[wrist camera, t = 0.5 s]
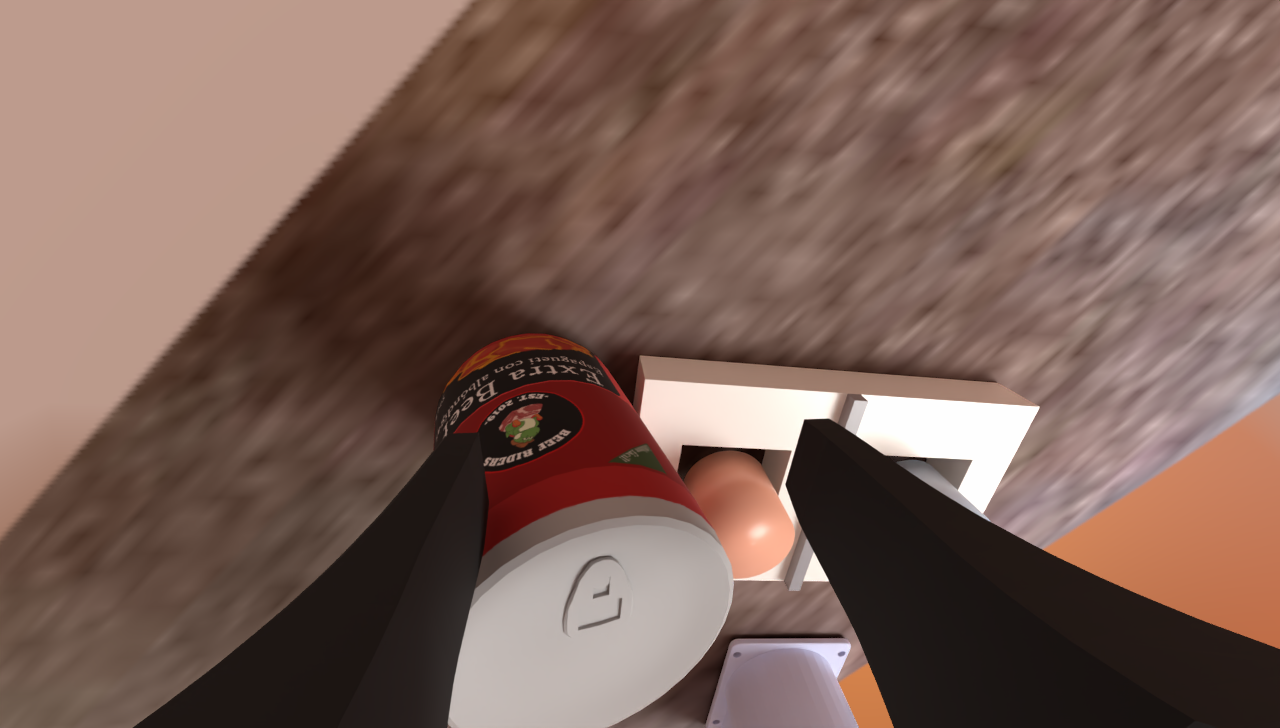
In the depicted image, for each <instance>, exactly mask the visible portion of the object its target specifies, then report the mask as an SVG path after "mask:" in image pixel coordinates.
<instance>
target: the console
mask: <svg viewBox="0 0 1280 728" xmlns="http://www.w3.org/2000/svg"><path fill="white" fill-rule="evenodd" d="M633 408H634V409H635V411H636V412H637V414H638V415H639V417H640V418H641V420H642V421H643V423H644V424H645V426H646V427H647V428H648V430H649V431H650V433H651V434H652V436H653V437H654V439H655V440H656V442H657V443H658V445H659V446H660V448H661V449H662V451H663V452H664V454H665V455H666V457H667V458H668V460H669V461H670V463H671V464H672V466H673V467H674V469H675V470H676V472H677V470H678V465H679V459H680V454H681V449H682V445H695V446H714V447H733V448H753V449H766V450H765V454H764V458H763V461H762V467H763V469H764V471H765V472H766V474H767V476H768V478H769V480H770V482H771V484H772V486H773V487H774V489H775V491H776V493H777V495H778V497H779V499H780V501H781V503H782V504H783V506H784V508H785V510H786V512H787V514H788V516H789V518H790V519H791V521H792V523H793V526H794V531H795V538H794V543H793V545H792V548H791V550H790V551H789V553H788V555H787V556H786V557H785V558H784V559H783V560H782V561H781V562H780V563H779V564H778V565H777V566H775V567H774V568H772V569H771V570H769V571H767V572H765V573H762V574H760V575H757V576H754V577H749V578H742V579H733V580H765V581H784V582H785V584H786V586H787V588H788V591H800V588H801V586H802V583H803V581H829V580H828V578H827V576H826V574H825V572H824V570H823V569H822V567H821V565H820V563H819V561H818V559H817V557H816V555H815V553H814V551H813V549H812V548H811V546H810V544H809V542H808V540H807V538H806V536H805V534H804V532H803V530H802V528H801V526H800V524H799V521H798V519H797V516H796V513H795V511H794V508H793V505H792V503H791V500H790V497H789V494H788V491H787V488H786V485H785V483H786V480H787V477H788V473H789V470H790V466H791V463H792V459H793V456H794V452H795V449H796V446H797V442H798V439H799V435H800V432H801V428H802V425H803V422H804V419H826V418H829V419H831V420H832V421H834V422H836V423H838V424H839V425H841V426H842V427H844V428H845V429H847V430H848V431H850V432H851V433H853V434H854V435H856V436H857V437H859V438H860V439H862V440H863V441H865V442H866V443H868V444H869V445H871V446H872V447H874V448H875V449H877V450H878V451H879V452H881V453H882V454H884V455H889V456H908V457H927V460H926V463H928V464H930V465H931V466H932V467H934V468H935V469H936V470H937V471H938V472H939V473H940V474H941V475H942V476H943V477H944V478H945V479H946V480H947V481H948V482H950V483H951V484H952V485H953V486H954V487H955V488H956V489H957V490H958V491H959V492H960V493H961V494H962V495H963V496H964V497H965V498H967V499H968V500H969V501H970V502H971V503H972V504H973V505H974V506H975V507H976V508H977V509H978V510H979V511H980V512H981V513H984V511H985V509H986V507H987V505H988V503H989V501H990V499H991V498H992V496H993V494H994V492H995V490H996V488H997V486H998V484H999V483H1000V481H1001V479H1002V477H1003V475H1004V473H1005V471H1006V469H1007V468H1008V466H1009V464H1010V462H1011V460H1012V458H1013V456H1014V454H1015V453H1016V451H1017V449H1018V447H1019V445H1020V443H1021V441H1022V439H1023V438H1024V436H1025V434H1026V432H1027V430H1028V428H1029V426H1030V424H1031V423H1032V421H1033V419H1034V417H1035V415H1036V413H1037V411H1038V409H1039V408H1040V407H1039V406H1037V405H1036V404H1034V403H1032V402H1030V401H1029V400H1027V399H1025V398H1024V397H1022V396H1020V395H1018V394H1017V393H1015V392H1013V391H1011V390H1010V389H1008V388H1006V387H1005V386H1003V385H1001V384H999V383H994V382H981V381H967V380H954V379H941V378H928V377H915V376H902V375H889V374H876V373H863V372H850V371H837V370H824V369H811V368H798V367H785V366H772V365H759V364H745V363H732V362H719V361H706V360H693V359H680V358H667V357H654V356H641V355H640V357H639V365H638V372H637V380H636V387H635V395H634V402H633Z"/></svg>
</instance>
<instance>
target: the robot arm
mask: <svg viewBox="0 0 1280 728" xmlns="http://www.w3.org/2000/svg"><path fill="white" fill-rule="evenodd" d="M785 485H786V488H787V491H788V494H789V497H790V500H791V503H792V505H793V508H794V511H795V513H796V516H797V519H798V521H799V524H800V526H801V528H802V530H803V532H804V534H805V536H806V538H807V540H808V542H809V544H810V546H811V548H812V549H813V551H814V553H815V555H816V557H817V559H818V561H819V563H820V565H821V567H822V569H823V570H824V572H825V574H826V576H827V578H828V580H829V582H830V584H831V586H832V587H833V589H834V591H835V593H836V595H837V597H838V599H839V601H840V603H841V605H842V606H843V608H844V610H845V612H846V614H847V616H848V618H849V620H850V622H851V624H852V626H853V628H854V630H855V632H856V635H857V637H858V639H859V641H860V644H861V646H862V648H863V651H864V653H865V656H866V658H867V660H868V663H869V665H870V668H871V670H872V673H873V675H874V677H875V680H876V682H877V685H878V687H879V690H880V692H881V695H882V698H883V700H884V703H885V705H886V708H887V710H888V713H889V716H890V718H891V720H892V724H893V726H894V728H1280V649H1278V648H1275V647H1272V646H1270V645H1267V644H1264V643H1262V642H1259V641H1256V640H1253V639H1251V638H1248V637H1245V636H1242V635H1240V634H1237V633H1234V632H1232V631H1229V630H1226V629H1224V628H1221V627H1218V626H1215V625H1213V624H1210V623H1207V622H1205V621H1202V620H1199V619H1197V618H1194V617H1192V616H1190V615H1187V614H1185V613H1182V612H1180V611H1177V610H1175V609H1172V608H1170V607H1167V606H1165V605H1163V604H1160V603H1158V602H1156V601H1153V600H1151V599H1148V598H1146V597H1143V596H1141V595H1139V594H1136V593H1134V592H1132V591H1129V590H1127V589H1125V588H1123V587H1120V586H1118V585H1116V584H1114V583H1111V582H1109V581H1107V580H1105V579H1102V578H1100V577H1098V576H1096V575H1094V574H1092V573H1090V572H1087V571H1085V570H1083V569H1081V568H1079V567H1077V566H1075V565H1073V564H1070V563H1068V562H1066V561H1064V560H1062V559H1060V558H1057V557H1056V556H1054V555H1052V554H1050V553H1048V552H1046V551H1044V550H1042V549H1040V548H1038V547H1036V546H1034V545H1032V544H1030V543H1028V542H1026V541H1025V540H1023V539H1021V538H1019V537H1017V536H1015V535H1013V534H1012V533H1010V532H1008V531H1006V530H1004V529H1002V528H1001V527H999V526H997V525H995V524H993V523H991V522H990V521H988V520H986V519H984V518H983V517H981V516H979V515H977V514H976V513H974V512H972V511H971V510H969V509H967V508H966V507H964V506H962V505H961V504H959V503H958V502H956V501H954V500H953V499H951V498H949V497H948V496H946V495H944V494H943V493H941V492H940V491H938V490H937V489H935V488H933V487H932V486H930V485H929V484H927V483H926V482H924V481H923V480H921V479H919V478H918V477H916V476H915V475H913V474H912V473H910V472H909V471H907V470H906V469H904V468H903V467H901V466H900V465H898V464H897V463H896V462H894V461H893V460H891V459H890V458H888V457H887V456H885V455H884V454H882V453H881V452H879V451H878V450H877V449H875V448H874V447H872V446H871V445H869V444H868V443H866V442H865V441H863V440H862V439H860V438H859V437H857V436H856V435H854V434H853V433H851V432H850V431H848V430H847V429H845V428H844V427H842V426H841V425H839V424H838V423H836V422H834V421H832V420H831V419H829V418H826V419H804V422H803V425H802V428H801V432H800V435H799V439H798V442H797V446H796V449H795V452H794V456H793V459H792V463H791V466H790V470H789V473H788V477H787V480H786V483H785ZM488 510H489V497H488V490H487V484H486V477H485V470H484V464H483V457H482V450H481V444H480V437H479V432H475V433H450V434H447V435H446V436H445V437H444V438H443V439H442V441H441V442H440V443H439V444H438V446H437V447H436V448H435V450H434V451H433V452H432V453H431V455H430V456H429V457H428V458H427V460H426V461H425V462H424V463H423V465H422V466H421V467H420V468H419V470H418V471H417V472H416V473H415V474H414V476H413V477H412V478H411V479H410V481H409V482H408V483H407V484H406V485H405V486H404V488H403V489H402V490H401V491H400V492H399V493H398V495H397V496H396V497H395V498H394V499H393V500H392V501H391V503H390V504H389V505H388V506H387V507H386V508H385V510H384V511H383V512H382V513H381V514H380V515H379V516H378V517H377V518H376V520H375V521H374V522H373V523H372V524H371V525H370V526H369V527H368V528H367V529H366V530H365V531H364V532H363V533H362V534H361V535H360V536H359V537H358V538H357V539H356V541H355V542H354V543H353V544H352V545H351V546H350V547H349V548H348V549H347V550H346V551H345V552H344V553H343V554H342V555H341V556H340V557H339V558H338V559H337V560H336V561H335V562H334V563H333V564H332V565H331V566H330V567H329V568H328V569H327V570H326V571H325V572H324V573H323V574H322V575H320V576H319V577H318V578H317V579H316V580H315V581H314V582H313V583H312V584H311V585H310V586H309V587H308V588H306V589H305V590H304V591H303V592H302V593H301V594H300V595H299V596H298V597H297V598H296V599H294V600H293V601H292V602H291V603H290V604H289V605H288V606H287V607H286V608H284V609H283V610H282V611H281V612H280V613H278V614H277V615H276V616H275V617H274V618H273V619H271V620H270V621H269V622H268V623H267V624H266V625H264V626H263V627H262V628H261V629H260V630H258V631H257V632H256V633H255V634H254V635H252V636H251V637H250V638H249V639H248V640H246V641H245V642H244V643H243V644H241V645H240V646H239V647H238V648H237V649H235V650H234V651H233V652H232V653H231V654H229V655H228V656H227V657H226V658H224V659H223V660H222V661H221V662H220V663H218V664H217V665H216V666H215V667H213V668H212V669H211V670H209V671H208V672H207V673H206V674H204V675H203V676H202V677H200V678H199V679H198V680H196V681H195V682H194V683H192V684H191V685H190V686H188V687H187V688H186V689H184V690H183V691H182V692H180V693H179V694H178V695H176V696H175V697H174V698H173V699H171V700H170V701H169V702H167V703H166V704H165V705H163V706H162V707H161V708H159V709H158V710H156V711H155V712H154V713H152V714H151V715H150V716H148V717H147V718H145V719H144V720H143V721H141V722H140V723H139V724H137V725H136V726H134V727H133V728H447V725H448V718H449V711H450V704H451V697H452V690H453V684H454V678H455V673H456V668H457V663H458V658H459V654H460V649H461V645H462V641H463V637H464V632H465V628H466V624H467V620H468V615H469V611H470V607H471V603H472V599H473V594H474V590H475V586H476V581H477V577H478V573H479V568H480V564H481V560H482V555H483V551H484V545H485V537H486V529H487V519H488ZM850 648H851V645H850V643H849V641H848V640H847V639H845V638H773V639H735V640H733V641H731V643H730V644H729V648H728V651H727V655H726V658H725V661H724V665H723V668H722V671H721V675H720V678H719V681H718V685H717V688H716V691H715V695H714V698H713V702H712V705H711V708H710V712H709V715H708V718H707V722H706V725H705V727H706V728H859V727H858V725H857V723H856V720H855V718H854V716H853V714H852V712H851V709H850V707H849V705H848V703H847V701H846V699H845V697H844V694H843V692H842V690H841V688H840V685H839V683H838V681H837V677H838V675H839V673H840V670H841V668H842V666H843V664H844V662H845V659H846V657H847V655H848V653H849V651H850Z"/></svg>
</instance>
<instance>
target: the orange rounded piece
mask: <svg viewBox="0 0 1280 728" xmlns="http://www.w3.org/2000/svg"><path fill="white" fill-rule="evenodd" d="M683 482H684V484H685V485H686V486H687V488H688V489H689V491H690V492H691V494H692V495H693V497H694V498H695V500H696V501H697V503H698V505H699V507H700V509H701V510H702V512H703V513H704V515H705V516H706V518H707V519H708V521H709V522H710V524H711V525H712V527H713V528H714V530H715V532H716V534H717V536H718V538H719V540H720V542H721V545H722V547H723V548H724V550H725V552H726V555H727V557H728V559H729V561H730V563H731V566H732V573H733V579H742V578H749V577H754V576H757V575H760V574H762V573H765V572H767V571H769V570H771V569H772V568H774V567H775V566H777V565H778V564H779V563H780V562H781V561H782V560H783V559H784V558H785V557H786V556H787V555H788V553H789V551H790V550H791V548H792V545H793V543H794V538H795V531H794V526H793V523H792V521H791V519H790V518H789V516H788V514H787V512H786V510H785V508H784V506H783V504H782V503H781V501H780V499H779V497H778V495H777V493H776V491H775V489H774V487H773V486H772V484H771V482H770V480H769V478H768V476H767V474H766V472H765V471H764V469H763V467H762V465H761V464H760V463H759V462H758V461H757V460H756V459H755V458H754V457H752V456H751V455H749V454H746V453H744V452H739V451H720V452H716V453H713V454H710V455H708V456H706V457H704V458H702V459H701V460H699V461H698V462H697V463H695V464H694V465H693V466H692V467H691V468H690V470H689V471H688V472H687V474H686V476H685V478H684V480H683Z"/></svg>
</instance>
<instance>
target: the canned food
mask: <svg viewBox="0 0 1280 728" xmlns="http://www.w3.org/2000/svg"><path fill="white" fill-rule="evenodd" d="M475 432H479V437H480V444H481V450H482V457H483V464H484V470H485V477H486V484H487V490H488V497H489V510H488V519H487V529H486V537H485V545H484V551H483V555H482V560H481V564H480V568H479V573H478V577H477V581H476V586H475V590H474V594H473V599H472V603H471V607H470V611H469V615H468V620H467V624H466V628H465V632H464V637H463V641H462V645H461V649H460V654H459V658H458V663H457V668H456V673H455V678H454V684H453V690H452V697H451V704H450V711H449V718H448V724H449V726H450V727H451V728H607V727H609V726H611V725H614V724H616V723H618V722H620V721H622V720H624V719H626V718H627V717H629V716H631V715H633V714H635V713H637V712H638V711H640V710H642V709H643V708H645V707H646V706H648V705H649V704H651V703H652V702H654V701H655V700H656V699H658V698H659V697H661V696H662V695H664V694H665V693H666V692H667V691H668V690H670V689H671V688H672V687H673V686H674V685H675V684H677V683H678V682H679V681H680V680H681V679H683V678H684V677H685V676H686V675H687V674H688V672H689V671H690V670H691V669H692V668H693V667H694V666H695V665H696V664H697V663H698V662H699V661H700V660H701V659H702V657H703V656H704V655H705V653H706V652H707V650H708V649H709V648H710V646H711V645H712V644H713V642H714V641H715V639H716V637H717V636H718V634H719V632H720V630H721V628H722V626H723V625H724V623H725V620H726V617H727V615H728V612H729V609H730V606H731V603H732V595H733V587H734V580H733V573H732V566H731V563H730V561H729V559H728V557H727V555H726V552H725V550H724V548H723V547H722V545H721V542H720V540H719V538H718V536H717V534H716V532H715V530H714V528H713V527H712V525H711V524H710V522H709V521H708V519H707V518H706V516H705V515H704V513H703V512H702V510H701V509H700V507H699V505H698V503H697V501H696V500H695V498H694V497H693V495H692V494H691V492H690V491H689V489H688V488H687V486H686V485H685V484H684V482H683V481H682V479H681V478H680V476H679V475H678V473H677V472H676V470H675V469H674V467H673V466H672V464H671V463H670V461H669V460H668V458H667V457H666V455H665V454H664V452H663V451H662V449H661V448H660V446H659V445H658V443H657V442H656V440H655V439H654V437H653V436H652V434H651V433H650V431H649V430H648V428H647V427H646V426H645V424H644V423H643V421H642V420H641V418H640V417H639V415H638V414H637V412H636V411H635V409H634V408H633V406H632V405H631V403H630V402H629V400H628V399H627V397H626V396H625V394H624V393H623V391H622V390H621V388H620V387H619V385H618V384H617V382H616V381H615V379H614V378H613V376H612V375H611V373H610V372H609V370H608V369H607V368H606V367H605V366H604V364H603V363H602V362H601V361H600V360H599V359H598V357H596V356H595V355H594V354H592V353H591V352H590V351H588V350H587V349H586V348H584V347H582V346H580V345H578V344H576V343H574V342H571V341H569V340H567V339H564V338H561V337H557V336H553V335H548V334H534V333H527V334H520V335H514V336H509V337H506V338H503V339H501V340H498V341H495V342H492V343H491V344H489V345H487V346H485V347H484V348H482V349H480V350H479V351H477V352H476V353H474V354H473V355H472V356H471V357H470V358H469V359H468V360H466V361H465V362H464V363H463V364H462V365H461V367H460V368H459V369H458V371H457V372H456V373H455V374H454V376H453V377H452V378H451V380H450V381H449V382H448V384H447V385H446V387H445V389H444V391H443V394H442V396H441V398H440V400H439V403H438V407H437V412H436V416H435V429H434V450H435V448H436V447H437V446H438V444H439V443H440V442H441V441H442V439H443V438H444V437H445V436H446V435H447V434H450V433H475Z"/></svg>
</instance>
